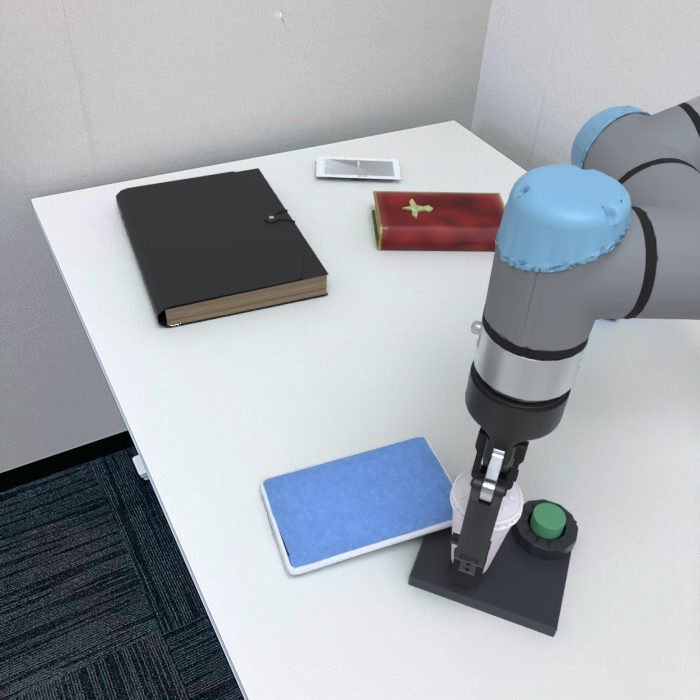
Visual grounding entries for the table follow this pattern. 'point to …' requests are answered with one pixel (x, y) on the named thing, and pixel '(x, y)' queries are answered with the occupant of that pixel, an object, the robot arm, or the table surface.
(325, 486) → the tablet
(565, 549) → the black button base
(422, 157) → the table surface
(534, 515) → the button
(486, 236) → the hardcover book
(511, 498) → the smoothie
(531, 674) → the table surface
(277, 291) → the black photo album
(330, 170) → the white picture frame
